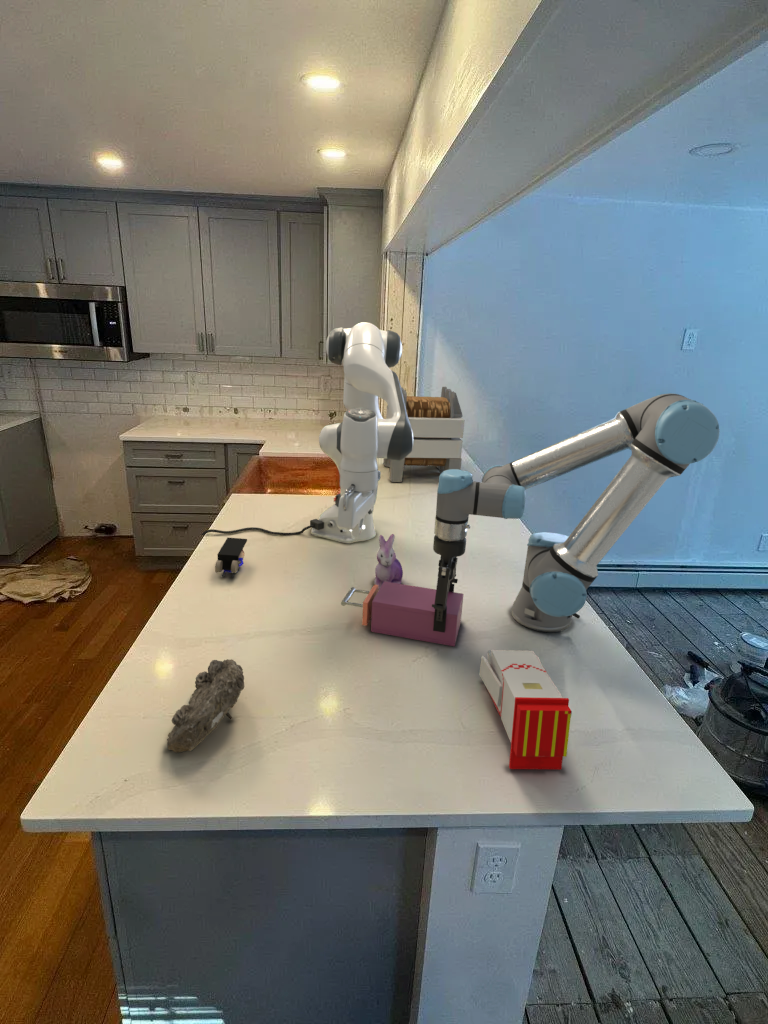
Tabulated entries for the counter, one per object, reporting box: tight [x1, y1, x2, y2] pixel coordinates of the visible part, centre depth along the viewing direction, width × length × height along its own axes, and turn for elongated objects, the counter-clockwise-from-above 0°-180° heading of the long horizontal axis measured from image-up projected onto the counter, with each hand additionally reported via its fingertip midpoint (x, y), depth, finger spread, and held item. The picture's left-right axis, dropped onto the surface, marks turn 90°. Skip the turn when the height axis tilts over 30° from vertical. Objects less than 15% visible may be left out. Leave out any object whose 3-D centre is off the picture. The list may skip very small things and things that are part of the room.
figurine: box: [373, 533, 404, 590], centre depth 160 cm, size 9×10×15 cm
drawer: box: [340, 584, 379, 627], centre depth 142 cm, size 25×10×6 cm, turn 75°
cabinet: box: [370, 581, 464, 647], centre depth 140 cm, size 21×11×8 cm, turn 75°
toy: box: [479, 649, 572, 771], centre depth 110 cm, size 12×13×30 cm
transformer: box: [383, 386, 465, 483], centre depth 268 cm, size 34×33×41 cm
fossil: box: [166, 658, 245, 754], centre depth 106 cm, size 22×10×15 cm
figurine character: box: [214, 537, 248, 578], centre depth 166 cm, size 7×8×15 cm
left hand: (357, 534), depth 138 cm, fingers closed
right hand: (443, 618), depth 139 cm, fingers closed on cabinet, 11 cm apart
